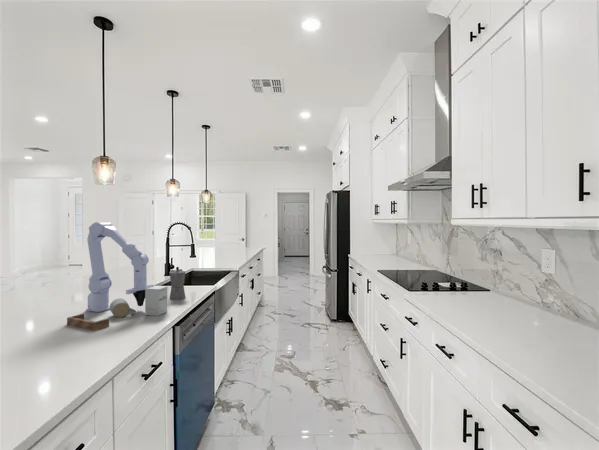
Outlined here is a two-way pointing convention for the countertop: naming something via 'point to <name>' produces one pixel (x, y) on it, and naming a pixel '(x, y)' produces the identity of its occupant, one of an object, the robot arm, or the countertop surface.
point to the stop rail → (87, 322)
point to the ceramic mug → (121, 308)
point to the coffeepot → (177, 284)
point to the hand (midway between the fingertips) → (140, 305)
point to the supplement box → (156, 300)
